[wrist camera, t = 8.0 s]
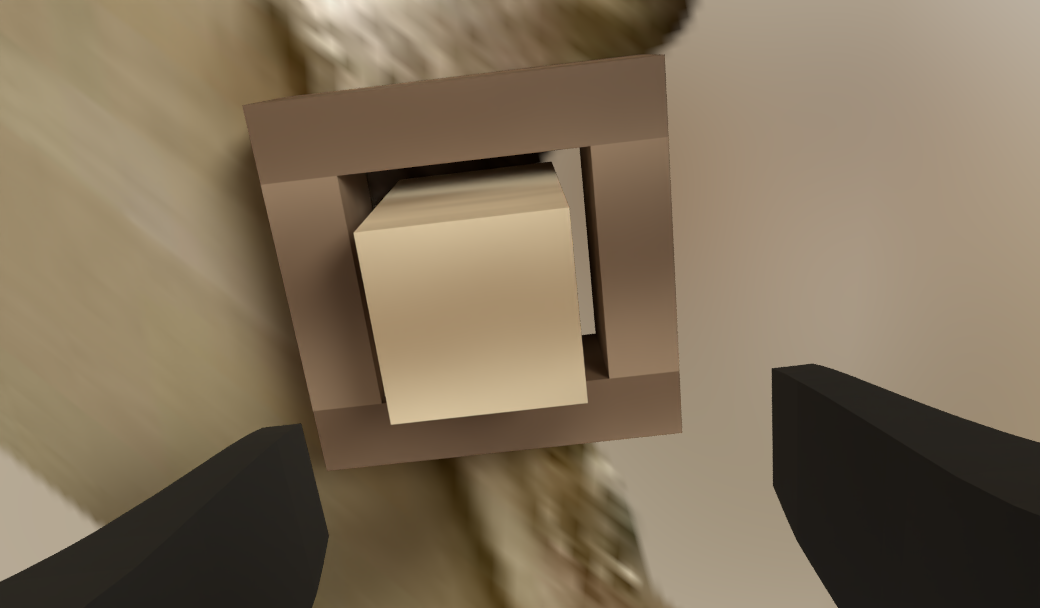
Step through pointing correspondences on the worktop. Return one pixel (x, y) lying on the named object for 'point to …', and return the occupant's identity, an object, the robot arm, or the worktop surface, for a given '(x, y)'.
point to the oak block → (474, 294)
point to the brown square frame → (460, 137)
